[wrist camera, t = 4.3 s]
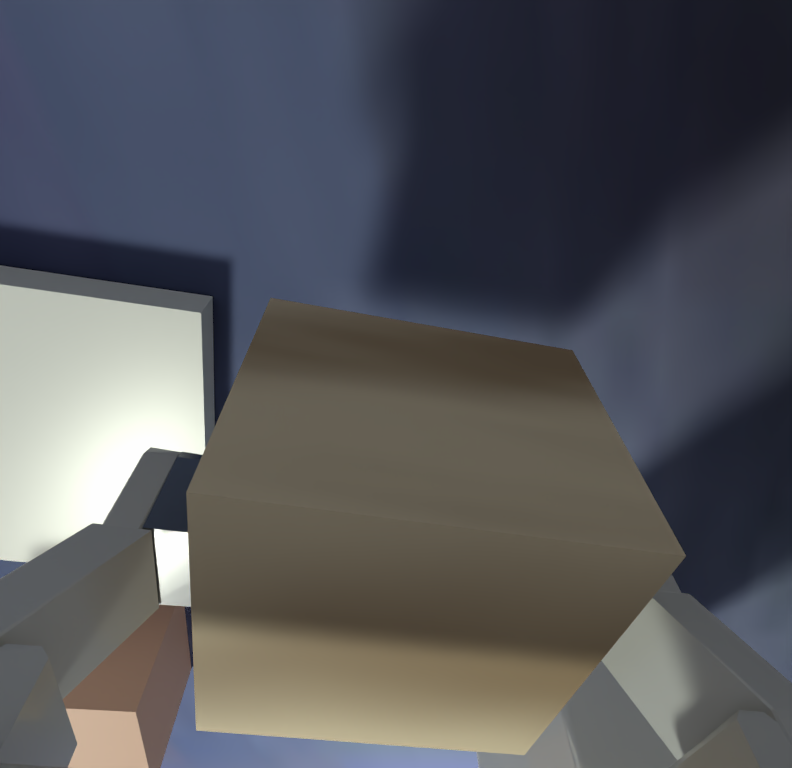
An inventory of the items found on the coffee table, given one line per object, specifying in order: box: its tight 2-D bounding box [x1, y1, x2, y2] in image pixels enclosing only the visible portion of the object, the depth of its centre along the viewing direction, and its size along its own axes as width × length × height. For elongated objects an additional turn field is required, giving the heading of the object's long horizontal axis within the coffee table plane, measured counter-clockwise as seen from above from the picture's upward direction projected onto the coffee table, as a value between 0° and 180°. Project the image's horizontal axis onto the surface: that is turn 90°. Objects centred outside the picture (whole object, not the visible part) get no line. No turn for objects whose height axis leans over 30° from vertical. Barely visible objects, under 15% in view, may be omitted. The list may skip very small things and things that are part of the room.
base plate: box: [0, 265, 215, 562], centre depth 15 cm, size 10×10×1 cm
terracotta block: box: [63, 604, 191, 768], centre depth 19 cm, size 6×6×4 cm
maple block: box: [186, 298, 686, 755], centre depth 9 cm, size 6×6×4 cm
